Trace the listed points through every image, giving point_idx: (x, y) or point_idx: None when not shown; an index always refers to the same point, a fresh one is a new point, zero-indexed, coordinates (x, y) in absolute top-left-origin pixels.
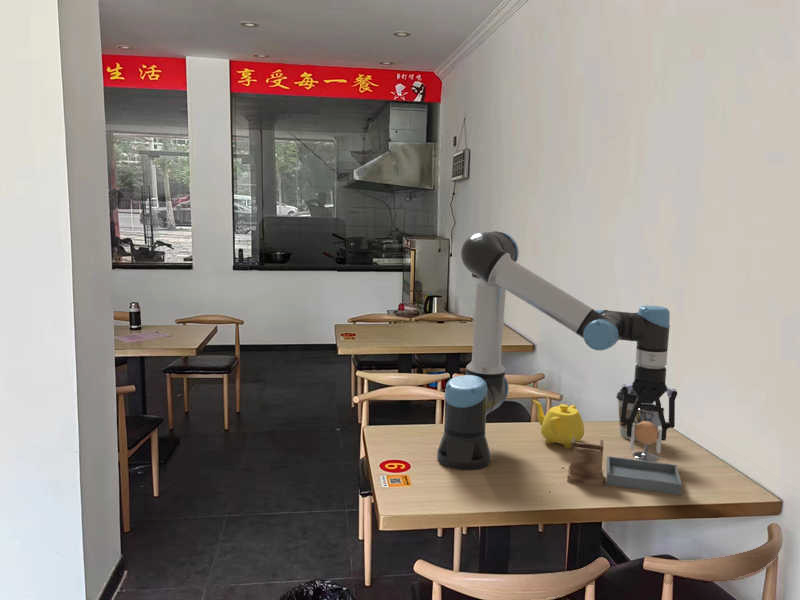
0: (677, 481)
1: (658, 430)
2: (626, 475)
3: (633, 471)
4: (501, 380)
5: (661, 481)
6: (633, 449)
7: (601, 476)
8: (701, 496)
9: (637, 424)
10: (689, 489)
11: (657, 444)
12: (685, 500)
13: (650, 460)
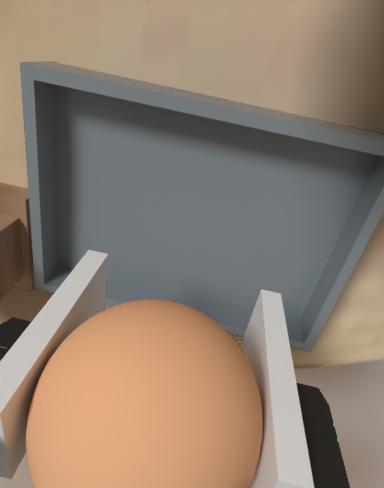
0: (321, 294)
1: (255, 482)
2: (128, 211)
3: (167, 164)
4: None
5: (237, 331)
6: (102, 310)
7: (23, 259)
8: (377, 324)
9: (28, 460)
10: (365, 278)
11: (251, 358)
12: (299, 349)
13: None
